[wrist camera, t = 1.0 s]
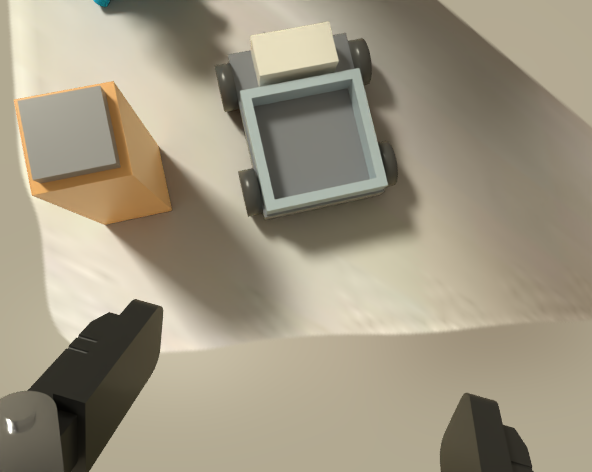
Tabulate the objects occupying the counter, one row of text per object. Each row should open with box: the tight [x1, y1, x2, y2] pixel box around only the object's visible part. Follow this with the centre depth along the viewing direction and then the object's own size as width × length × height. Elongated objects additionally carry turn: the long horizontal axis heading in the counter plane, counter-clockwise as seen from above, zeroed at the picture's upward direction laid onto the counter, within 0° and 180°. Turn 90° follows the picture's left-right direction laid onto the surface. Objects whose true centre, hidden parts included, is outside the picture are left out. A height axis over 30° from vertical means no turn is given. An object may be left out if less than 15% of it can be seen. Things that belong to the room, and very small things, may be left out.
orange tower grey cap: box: [14, 81, 172, 225], centre depth 29 cm, size 4×4×12 cm
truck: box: [215, 22, 398, 220], centre depth 34 cm, size 11×10×4 cm
